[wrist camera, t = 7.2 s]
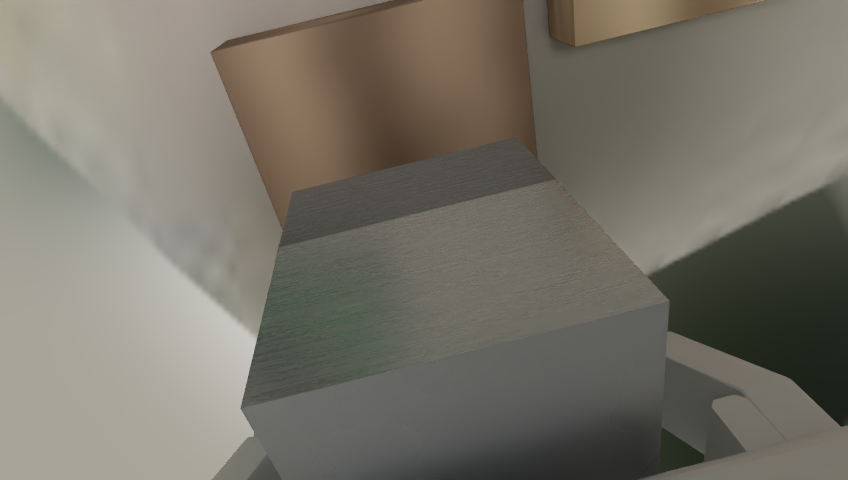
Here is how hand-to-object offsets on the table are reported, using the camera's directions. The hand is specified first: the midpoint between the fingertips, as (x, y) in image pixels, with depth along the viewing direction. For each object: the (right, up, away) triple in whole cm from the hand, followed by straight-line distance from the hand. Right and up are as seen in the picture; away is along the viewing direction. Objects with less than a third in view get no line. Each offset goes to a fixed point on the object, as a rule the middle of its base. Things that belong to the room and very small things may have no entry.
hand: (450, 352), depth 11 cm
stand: (-2, +7, +13) cm, 15 cm away
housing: (0, +1, +2) cm, 2 cm away
